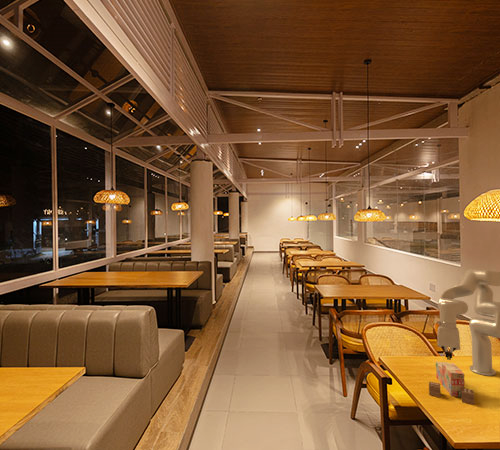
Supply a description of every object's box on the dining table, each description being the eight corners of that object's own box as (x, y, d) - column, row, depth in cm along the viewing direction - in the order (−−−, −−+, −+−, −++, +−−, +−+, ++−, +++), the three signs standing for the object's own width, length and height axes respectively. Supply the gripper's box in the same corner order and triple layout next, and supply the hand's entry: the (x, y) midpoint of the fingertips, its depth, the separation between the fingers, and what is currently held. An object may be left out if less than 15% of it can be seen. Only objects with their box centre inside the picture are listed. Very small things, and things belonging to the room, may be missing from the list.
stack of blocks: (436, 377, 182) (435, 356, 182) (448, 378, 181) (447, 356, 181) (451, 396, 161) (450, 372, 161) (465, 397, 160) (464, 373, 160)
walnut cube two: (461, 397, 160) (460, 387, 160) (473, 400, 157) (473, 389, 158) (461, 402, 156) (461, 391, 156) (474, 404, 153) (474, 394, 153)
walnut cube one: (429, 390, 167) (429, 380, 167) (440, 393, 165) (440, 383, 165) (429, 395, 163) (428, 384, 163) (440, 397, 160) (440, 387, 161)
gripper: (431, 324, 172) (432, 358, 171) (465, 328, 164) (466, 364, 164) (432, 321, 178) (433, 354, 178) (464, 325, 171) (465, 359, 170)
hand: (448, 359), depth 171 cm, fingers closed
